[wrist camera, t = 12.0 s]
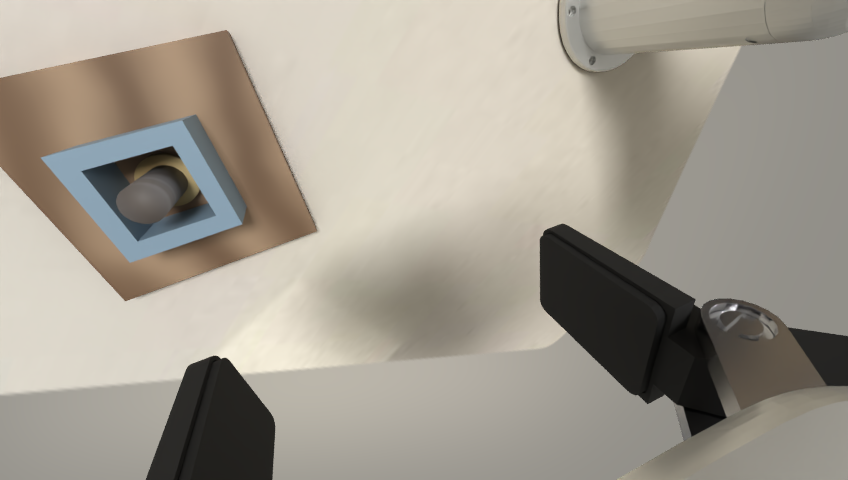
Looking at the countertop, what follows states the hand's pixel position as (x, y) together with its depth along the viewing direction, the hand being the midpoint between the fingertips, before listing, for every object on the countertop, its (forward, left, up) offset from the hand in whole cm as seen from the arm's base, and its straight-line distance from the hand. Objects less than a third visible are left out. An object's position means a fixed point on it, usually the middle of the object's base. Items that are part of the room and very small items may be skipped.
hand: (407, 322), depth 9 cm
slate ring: (+11, -2, -22) cm, 25 cm away
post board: (+11, -2, -23) cm, 26 cm away
